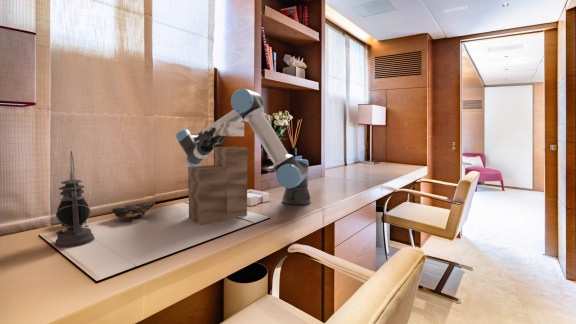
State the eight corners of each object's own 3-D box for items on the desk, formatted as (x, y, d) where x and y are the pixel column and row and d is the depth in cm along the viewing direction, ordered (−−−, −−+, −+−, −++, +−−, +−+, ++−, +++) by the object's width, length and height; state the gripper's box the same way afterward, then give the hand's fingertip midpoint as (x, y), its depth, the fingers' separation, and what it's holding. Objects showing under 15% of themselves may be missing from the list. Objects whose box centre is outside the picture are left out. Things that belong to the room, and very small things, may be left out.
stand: (188, 218, 126) (187, 147, 123) (234, 210, 140) (234, 146, 137) (200, 224, 118) (199, 149, 115) (247, 215, 132) (247, 147, 129)
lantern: (53, 239, 99) (47, 149, 96) (90, 232, 106) (86, 149, 103) (56, 251, 90) (50, 152, 87) (97, 243, 97) (93, 151, 94)
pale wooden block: (206, 134, 139) (206, 121, 138) (220, 135, 144) (220, 122, 143) (229, 136, 123) (229, 121, 123) (244, 136, 128) (244, 122, 127)
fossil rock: (136, 224, 116) (136, 210, 115) (106, 222, 119) (106, 207, 118) (159, 215, 129) (159, 202, 129) (131, 213, 132) (131, 200, 132)
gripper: (220, 154, 154) (241, 132, 138) (189, 156, 143) (208, 132, 127) (216, 142, 156) (237, 118, 140) (185, 142, 145) (204, 117, 129)
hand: (223, 125), depth 134 cm, fingers closed on pale wooden block, 3 cm apart
